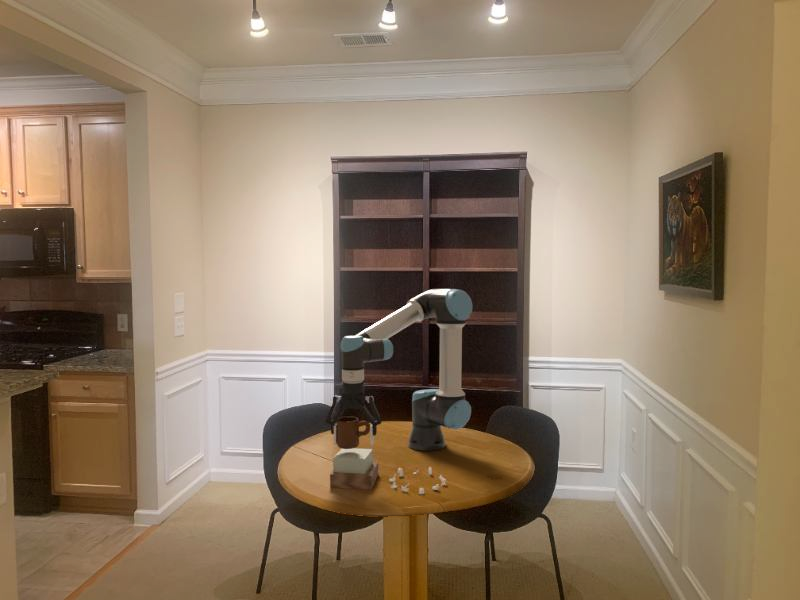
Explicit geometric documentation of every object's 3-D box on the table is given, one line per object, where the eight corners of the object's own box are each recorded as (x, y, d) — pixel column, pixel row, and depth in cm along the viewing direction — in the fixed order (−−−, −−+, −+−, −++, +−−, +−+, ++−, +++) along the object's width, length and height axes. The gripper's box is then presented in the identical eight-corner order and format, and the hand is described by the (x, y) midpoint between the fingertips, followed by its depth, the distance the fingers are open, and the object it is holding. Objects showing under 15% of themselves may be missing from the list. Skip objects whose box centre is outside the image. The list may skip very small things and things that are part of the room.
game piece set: (380, 479, 202) (379, 468, 202) (431, 470, 210) (431, 460, 210) (402, 499, 184) (402, 487, 184) (457, 489, 192) (457, 477, 192)
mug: (374, 444, 201) (373, 417, 200) (366, 451, 194) (366, 423, 193) (342, 442, 204) (341, 415, 204) (333, 448, 197) (333, 421, 196)
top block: (372, 463, 204) (372, 449, 204) (364, 473, 193) (364, 459, 193) (342, 461, 206) (342, 447, 206) (333, 472, 195) (333, 457, 195)
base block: (378, 475, 206) (378, 461, 205) (371, 490, 192) (371, 475, 192) (339, 474, 207) (339, 460, 207) (330, 489, 193) (330, 474, 193)
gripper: (315, 383, 195) (316, 446, 197) (386, 384, 193) (387, 448, 194) (321, 378, 203) (322, 439, 204) (389, 379, 200) (390, 441, 201)
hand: (353, 443), depth 199 cm, fingers closed on mug, 12 cm apart
